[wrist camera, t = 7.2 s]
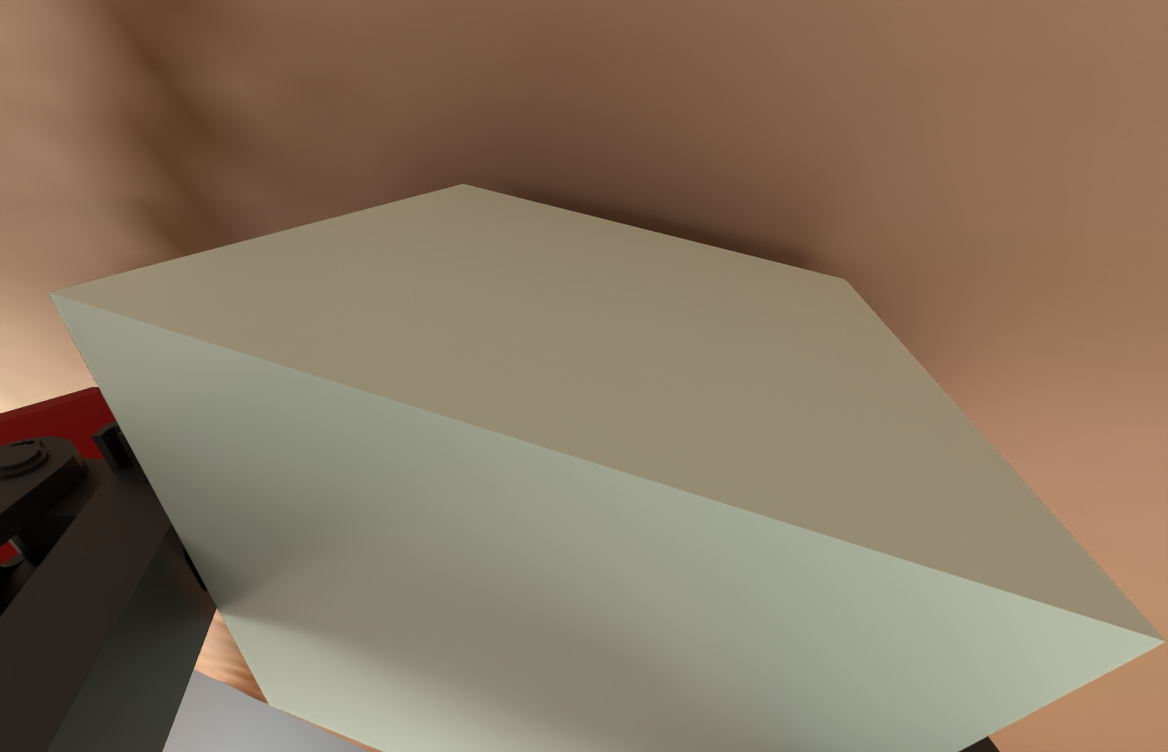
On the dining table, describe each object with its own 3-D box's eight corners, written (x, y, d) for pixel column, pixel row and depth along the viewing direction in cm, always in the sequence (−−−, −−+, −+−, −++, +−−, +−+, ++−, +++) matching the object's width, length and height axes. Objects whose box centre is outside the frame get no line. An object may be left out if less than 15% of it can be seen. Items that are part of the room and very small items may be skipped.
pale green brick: (463, 183, 12) (48, 292, 4) (845, 279, 11) (1165, 641, 3) (455, 454, 17) (269, 705, 10) (706, 535, 16) (708, 884, 9)
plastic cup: (263, 334, 20) (-160, 545, 10) (321, 494, 26) (84, 728, 16) (82, 299, 22) (-435, 451, 12) (174, 456, 28) (-124, 647, 18)
